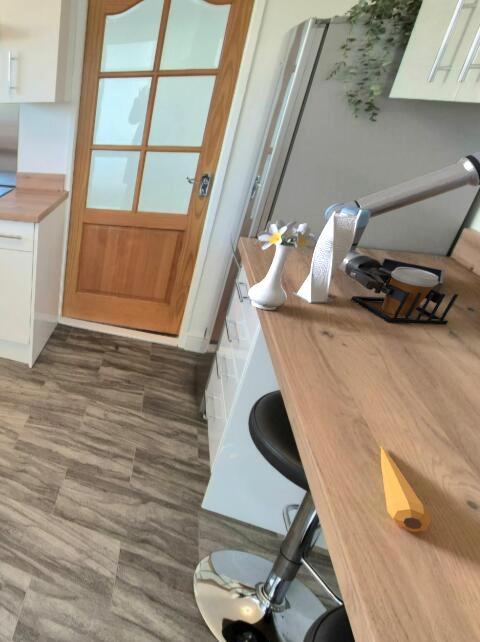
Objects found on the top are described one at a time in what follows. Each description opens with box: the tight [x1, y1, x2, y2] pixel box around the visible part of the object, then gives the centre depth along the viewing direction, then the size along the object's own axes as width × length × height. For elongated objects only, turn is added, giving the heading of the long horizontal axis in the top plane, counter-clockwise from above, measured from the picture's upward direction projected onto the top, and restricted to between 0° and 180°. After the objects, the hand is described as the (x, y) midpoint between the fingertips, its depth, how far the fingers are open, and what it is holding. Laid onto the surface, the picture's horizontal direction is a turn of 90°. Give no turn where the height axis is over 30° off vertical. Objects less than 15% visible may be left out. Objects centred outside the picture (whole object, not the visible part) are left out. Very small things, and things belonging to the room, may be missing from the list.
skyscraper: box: [292, 210, 362, 304], centre depth 123 cm, size 8×8×28 cm
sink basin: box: [379, 257, 445, 292], centre depth 140 cm, size 15×15×4 cm
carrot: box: [380, 445, 432, 533], centre depth 69 cm, size 20×4×4 cm, turn 147°
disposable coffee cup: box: [381, 267, 439, 317], centre depth 119 cm, size 10×10×12 cm
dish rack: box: [350, 292, 459, 326], centre depth 120 cm, size 15×14×9 cm
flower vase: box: [247, 218, 317, 311], centre depth 120 cm, size 13×18×25 cm
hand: (421, 298), depth 115 cm, fingers closed on disposable coffee cup, 8 cm apart
